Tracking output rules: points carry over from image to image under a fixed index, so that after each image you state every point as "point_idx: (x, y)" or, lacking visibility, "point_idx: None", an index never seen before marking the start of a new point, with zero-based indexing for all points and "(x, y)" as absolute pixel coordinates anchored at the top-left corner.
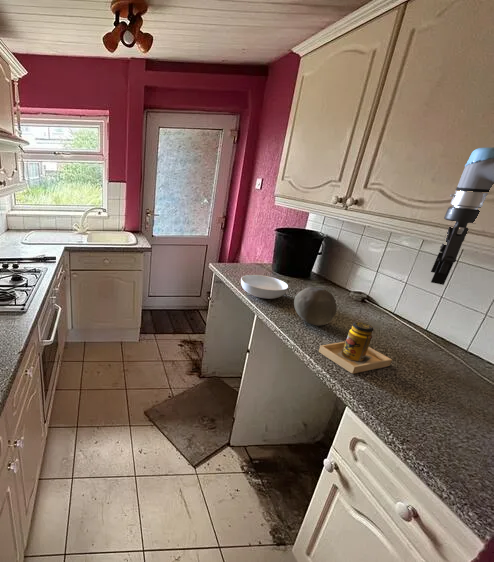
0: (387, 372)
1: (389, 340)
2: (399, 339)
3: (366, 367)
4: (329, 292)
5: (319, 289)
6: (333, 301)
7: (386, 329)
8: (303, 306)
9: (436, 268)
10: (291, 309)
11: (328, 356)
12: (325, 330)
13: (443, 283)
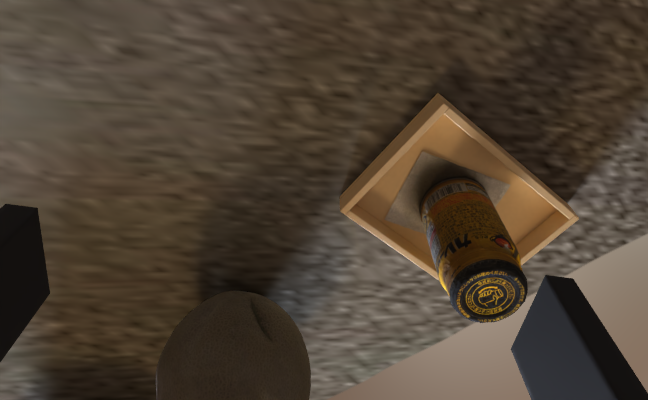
0: (495, 103)
1: (175, 70)
2: (124, 28)
3: (533, 177)
4: None
5: None
6: (241, 375)
7: (47, 71)
8: None
9: (15, 303)
10: None
11: None
12: (271, 275)
13: (578, 294)
